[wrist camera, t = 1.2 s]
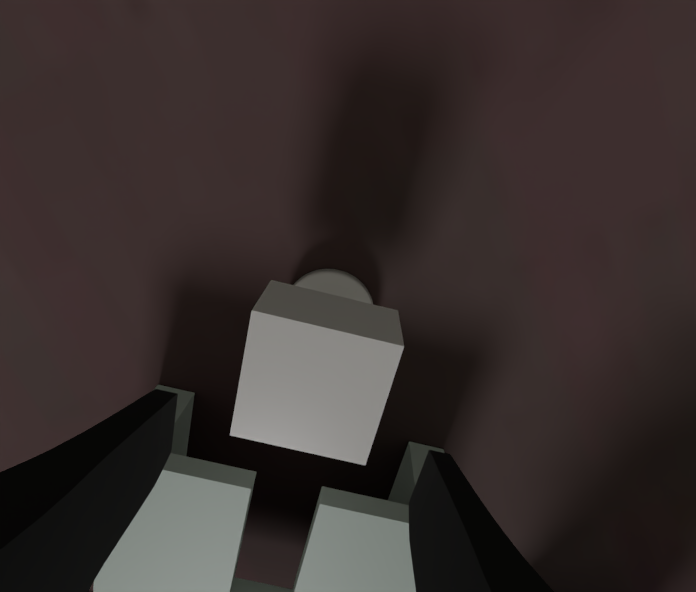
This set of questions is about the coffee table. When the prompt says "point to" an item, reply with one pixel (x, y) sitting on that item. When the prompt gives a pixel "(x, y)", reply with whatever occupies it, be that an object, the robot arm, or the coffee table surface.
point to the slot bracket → (229, 524)
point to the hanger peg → (317, 367)
